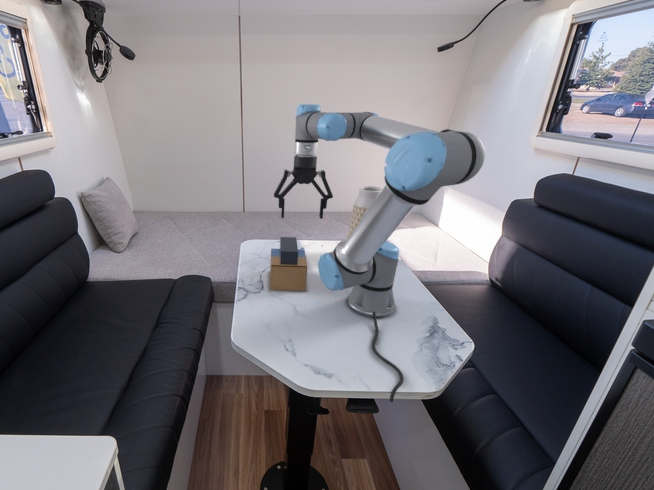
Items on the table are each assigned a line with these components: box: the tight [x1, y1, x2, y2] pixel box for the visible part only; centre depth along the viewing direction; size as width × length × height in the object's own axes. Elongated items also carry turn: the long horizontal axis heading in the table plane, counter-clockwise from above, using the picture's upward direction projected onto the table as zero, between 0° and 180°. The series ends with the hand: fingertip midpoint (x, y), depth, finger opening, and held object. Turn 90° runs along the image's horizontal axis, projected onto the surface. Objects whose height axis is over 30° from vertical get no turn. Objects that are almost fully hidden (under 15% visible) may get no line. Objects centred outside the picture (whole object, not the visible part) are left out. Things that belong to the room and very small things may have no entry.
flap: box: [270, 247, 307, 258], centre depth 141 cm, size 7×13×1 cm, turn 88°
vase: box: [346, 185, 383, 239], centre depth 156 cm, size 14×14×31 cm
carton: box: [269, 255, 308, 292], centre depth 140 cm, size 15×13×10 cm
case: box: [279, 236, 299, 265], centre depth 137 cm, size 14×6×5 cm, turn 178°
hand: (301, 217), depth 132 cm, fingers open, 13 cm apart
